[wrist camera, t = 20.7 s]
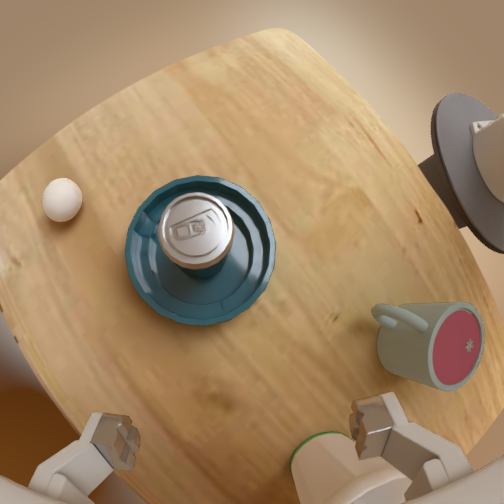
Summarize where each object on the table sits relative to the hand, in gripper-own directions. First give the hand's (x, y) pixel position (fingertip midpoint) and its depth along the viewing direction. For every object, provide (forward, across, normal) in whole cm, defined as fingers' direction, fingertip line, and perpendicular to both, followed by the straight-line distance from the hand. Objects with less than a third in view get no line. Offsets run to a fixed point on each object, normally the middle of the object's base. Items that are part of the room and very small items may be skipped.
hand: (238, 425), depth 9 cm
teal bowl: (+24, +5, +2) cm, 24 cm away
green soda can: (+23, +5, +2) cm, 24 cm away
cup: (+13, -6, +26) cm, 30 cm away
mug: (+22, -17, +14) cm, 31 cm away
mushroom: (+25, +20, -6) cm, 32 cm away
